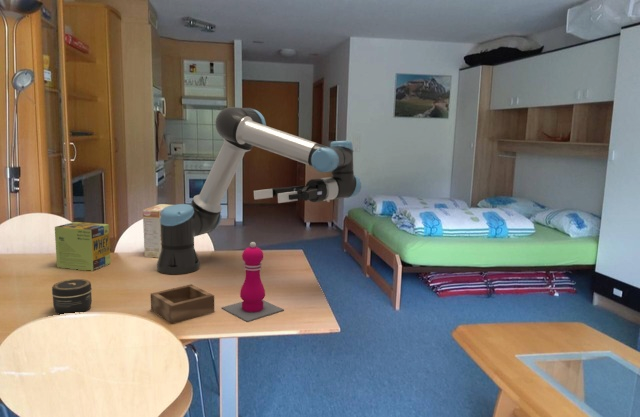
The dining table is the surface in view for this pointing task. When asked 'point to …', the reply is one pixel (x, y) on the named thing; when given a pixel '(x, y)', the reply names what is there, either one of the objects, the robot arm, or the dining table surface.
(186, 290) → the walnut box
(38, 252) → the dining table surface
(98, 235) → the protein box
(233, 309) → the mat
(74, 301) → the jar
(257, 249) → the pepper mill
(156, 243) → the coffeecake box
